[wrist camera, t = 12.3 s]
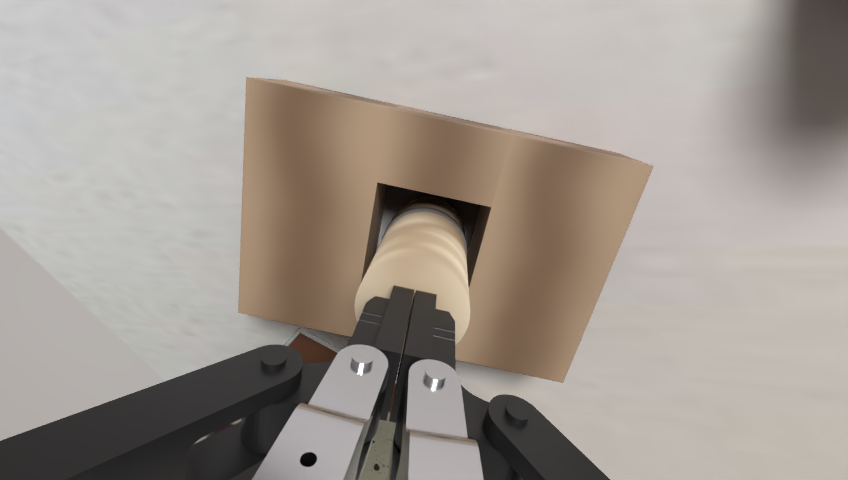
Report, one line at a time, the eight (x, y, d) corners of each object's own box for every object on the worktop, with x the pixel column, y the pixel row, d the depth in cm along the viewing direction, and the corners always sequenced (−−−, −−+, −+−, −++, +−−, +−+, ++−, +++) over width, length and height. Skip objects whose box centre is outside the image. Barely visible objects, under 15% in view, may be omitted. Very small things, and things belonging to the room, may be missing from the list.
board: (617, 153, 21) (653, 166, 17) (546, 339, 25) (563, 382, 21) (284, 80, 21) (246, 77, 17) (270, 279, 25) (238, 312, 21)
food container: (245, 378, 28) (140, 522, 19) (279, 316, 26) (180, 443, 17) (393, 454, 30) (365, 622, 20) (437, 402, 27) (428, 561, 18)
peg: (472, 196, 22) (485, 272, 13) (455, 261, 24) (456, 371, 14) (401, 180, 22) (362, 245, 13) (388, 246, 24) (345, 348, 14)
